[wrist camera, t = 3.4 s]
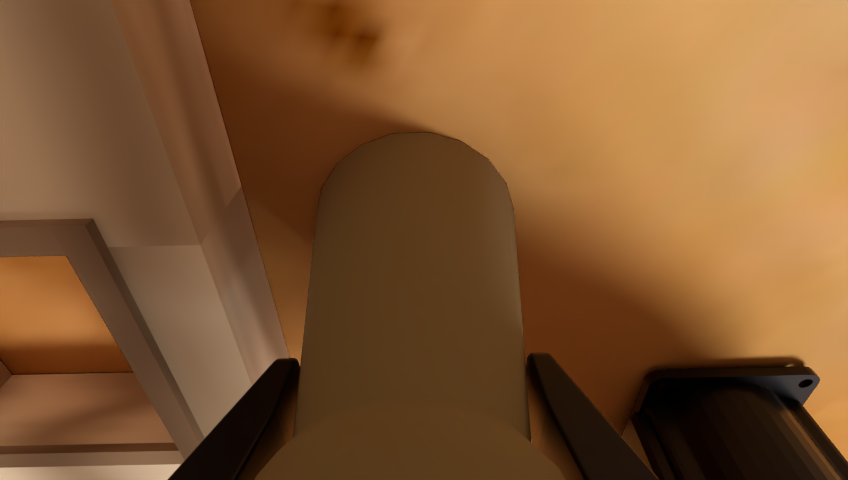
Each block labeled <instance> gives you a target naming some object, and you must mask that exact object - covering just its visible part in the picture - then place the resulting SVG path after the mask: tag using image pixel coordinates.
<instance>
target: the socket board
mask: <svg viewBox="0 0 848 480" xmlns="http://www.w3.org/2000/svg"><path fill="white" fill-rule="evenodd" d="M25 256H66V257H67V258H68V260H69V262H70V263H71V265H72V267H73V269H74V270H75V272H76V274H77V275H78V277H79V279H80V281H81V282H82V284H83V286H84V288H85V289H86V291H87V293H88V294H89V296H90V298H91V300H92V301H93V303H94V305H95V307H96V308H97V310H98V312H99V313H100V315H101V317H102V319H103V320H104V322H105V324H106V326H107V327H108V329H109V331H110V332H111V334H112V336H113V338H114V339H115V341H116V343H117V345H118V346H119V348H120V350H121V351H122V353H123V355H124V357H125V358H126V360H127V362H128V363H129V365H130V367H131V369H132V370H133V372H131V373H85V374H38V375H12V374H11V373H10V372H9V370H8V369H7V368H6V367H5V366H4V364H3V363H2V362H1V361H0V480H168V478H169V477H170V476H171V475H172V474H173V473H174V472H175V471H176V470H177V468H178V467H179V466H180V465H181V464H182V463H183V462H184V461H185V460H186V458H187V457H188V456H189V455H190V454H191V453H192V452H193V451H194V450H195V448H196V447H197V446H198V445H199V444H200V443H201V442H202V441H203V440H204V438H205V437H206V436H207V435H208V434H209V433H210V432H211V431H212V430H213V428H214V427H215V426H216V425H217V424H218V423H219V422H220V421H221V420H222V418H223V417H224V416H225V415H226V414H227V413H228V412H229V411H230V410H231V408H232V407H233V406H234V405H235V404H236V403H237V402H238V401H239V400H240V398H241V397H242V396H243V395H244V394H245V393H246V392H247V391H248V390H249V388H250V387H251V386H252V385H253V384H254V383H255V382H256V381H257V380H258V378H259V377H260V376H261V375H262V374H263V373H264V372H265V371H266V370H267V368H268V367H269V366H270V365H271V364H272V363H273V362H274V361H275V360H276V359H279V358H290V357H289V354H288V350H287V347H286V343H285V339H284V336H283V332H282V329H281V325H280V322H279V318H278V314H277V311H276V307H275V304H274V300H273V297H272V293H271V289H270V286H269V282H268V279H267V275H266V272H265V268H264V264H263V261H262V257H261V254H260V250H259V247H258V243H257V239H256V236H255V232H254V229H253V225H252V222H251V218H250V214H249V211H248V207H247V204H246V200H245V197H244V193H243V189H242V186H241V182H240V179H239V175H238V172H237V168H236V164H235V161H234V157H233V154H232V150H231V147H230V143H229V139H228V136H227V132H226V129H225V125H224V122H223V118H222V114H221V111H220V107H219V104H218V100H217V97H216V93H215V89H214V86H213V82H212V79H211V75H210V72H209V68H208V64H207V61H206V57H205V54H204V50H203V47H202V43H201V39H200V36H199V32H198V29H197V25H196V22H195V18H194V14H193V11H192V7H191V4H190V0H0V257H25Z"/></svg>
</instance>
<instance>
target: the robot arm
mask: <svg viewBox="0 0 848 480" xmlns="http://www.w3.org/2000/svg"><path fill="white" fill-rule="evenodd" d="M299 374H300V366H299V363H298V360H297V359H295V358H279V359H276V360H275V361H274V362H273V363H272V364H271V365H270V366H269V367H268V368H267V370H266V371H265V372H264V373H263V374H262V375H261V376H260V377H259V378H258V380H257V381H256V382H255V383H254V384H253V385H252V386H251V387H250V388H249V390H248V391H247V392H246V393H245V394H244V395H243V396H242V397H241V398H240V400H239V401H238V402H237V403H236V404H235V405H234V406H233V407H232V408H231V410H230V411H229V412H228V413H227V414H226V415H225V416H224V417H223V418H222V420H221V421H220V422H219V423H218V424H217V425H216V426H215V427H214V428H213V430H212V431H211V432H210V433H209V434H208V435H207V436H206V437H205V438H204V440H203V441H202V442H201V443H200V444H199V445H198V446H197V447H196V448H195V450H194V451H193V452H192V453H191V454H190V455H189V456H188V457H187V458H186V460H185V461H184V462H183V463H182V464H181V465H180V466H179V467H178V468H177V470H176V471H175V472H174V473H173V474H172V475H171V476H170V477H169V478H168V480H254V479H255V478H256V476H257V474H258V473H259V472H260V471H261V470H262V469H263V468H264V467H265V465H266V464H267V463H268V462H269V461H270V460H271V459H272V457H273V456H274V455H275V454H276V453H277V452H278V451H279V450H280V449H281V448H282V447H283V446H284V445H286V444H287V443H288V442H289V441H290V440H292V439H293V430H294V421H295V411H296V402H297V393H298V383H299ZM526 378H527V391H528V405H529V418H530V431H531V439H532V444H533V445H534V446H535V447H536V448H537V449H539V450H540V451H541V452H542V453H543V454H544V455H545V456H546V457H548V458H549V459H550V460H551V461H552V462H553V463H554V464H555V465H556V466H558V467H559V469H560V470H561V472H562V474H563V476H564V478H565V480H848V462H847V460H846V459H845V458H844V457H843V455H842V454H841V453H840V452H839V450H838V449H837V448H836V447H835V445H834V444H833V443H832V442H831V440H830V439H829V438H828V437H827V435H826V434H825V433H824V432H823V430H822V429H821V428H820V427H819V425H818V424H817V423H816V422H815V420H814V419H813V418H812V417H811V415H810V414H809V413H808V412H807V410H806V409H805V408H804V407H803V404H804V403H805V402H806V400H807V399H808V397H809V396H810V395H811V393H812V392H813V390H814V389H815V388H816V386H817V385H818V383H819V381H820V379H819V377H818V375H817V374H816V373H815V372H814V371H813V370H812V369H811V368H809V367H759V368H712V369H665V370H655V371H653V372H650V373H649V374H648V375H647V376H646V377H645V379H644V381H643V384H642V386H641V389H640V392H639V394H638V397H637V400H636V402H635V405H634V407H633V410H632V413H631V415H630V416H629V418H628V421H627V423H626V426H625V429H624V431H623V434H622V436H621V435H620V434H619V433H618V431H617V430H616V429H615V428H614V427H613V426H612V425H611V423H610V422H609V421H608V420H607V419H606V418H605V417H604V415H603V414H602V413H601V412H600V411H599V410H598V409H597V407H596V406H595V405H594V404H593V403H592V402H591V401H590V399H589V398H588V397H587V396H586V395H585V394H584V393H583V391H582V390H581V389H580V388H579V387H578V386H577V384H576V383H575V382H574V381H573V380H572V379H571V378H570V376H569V375H568V374H567V373H566V372H565V371H564V370H563V368H562V367H561V366H560V365H559V364H558V363H557V362H556V360H555V359H554V358H553V357H552V356H551V355H550V354H548V353H530V354H529V355H528V358H527V364H526Z"/></svg>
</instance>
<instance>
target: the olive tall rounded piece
mask: <svg viewBox="0 0 848 480" xmlns="http://www.w3.org/2000/svg"><path fill="white" fill-rule="evenodd" d="M254 480H565V478H564V476H563V474H562V472H561V470H560V469H559V467H558V466H556V465H555V464H554V463H553V462H552V461H551V460H550V459H549V458H548V457H546V456H545V455H544V454H543V453H542V452H541V451H540V450H539V449H537V448H536V447H535V446H534V445H533V444H532V443H531V431H530V418H529V405H528V391H527V378H526V365H525V352H524V338H523V325H522V312H521V298H520V285H519V272H518V259H517V245H516V232H515V219H514V208H513V205H512V201H511V198H510V194H509V191H508V187H507V184H506V182H505V181H504V179H503V178H502V177H501V175H500V174H499V173H498V171H497V170H496V169H495V167H494V166H493V165H492V163H491V162H490V161H489V159H487V158H486V157H484V156H483V155H481V154H480V153H478V152H477V151H475V150H474V149H472V148H471V147H469V146H468V145H466V144H465V143H463V142H462V141H458V140H455V139H451V138H447V137H444V136H440V135H437V134H433V133H430V132H420V133H393V134H390V135H388V136H385V137H382V138H379V139H376V140H373V141H370V142H367V143H365V144H362V145H361V146H359V147H358V148H357V149H355V150H354V151H353V152H352V153H350V154H349V155H348V156H346V157H345V158H344V159H343V160H341V161H340V162H339V163H337V165H336V166H335V168H334V169H333V171H332V173H331V174H330V176H329V177H328V179H327V181H326V182H325V184H324V185H323V187H322V189H321V194H320V199H319V205H318V210H317V215H316V225H315V234H314V243H313V253H312V262H311V271H310V281H309V290H308V299H307V309H306V318H305V327H304V337H303V346H302V355H301V365H300V374H299V383H298V393H297V402H296V411H295V421H294V430H293V439H292V440H290V441H289V442H288V443H287V444H286V445H284V446H283V447H282V448H281V449H280V450H279V451H278V452H277V453H276V454H275V455H274V456H273V457H272V459H271V460H270V461H269V462H268V463H267V464H266V465H265V467H264V468H263V469H262V470H261V471H260V472H259V473H258V474H257V476H256V478H255V479H254Z"/></svg>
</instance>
